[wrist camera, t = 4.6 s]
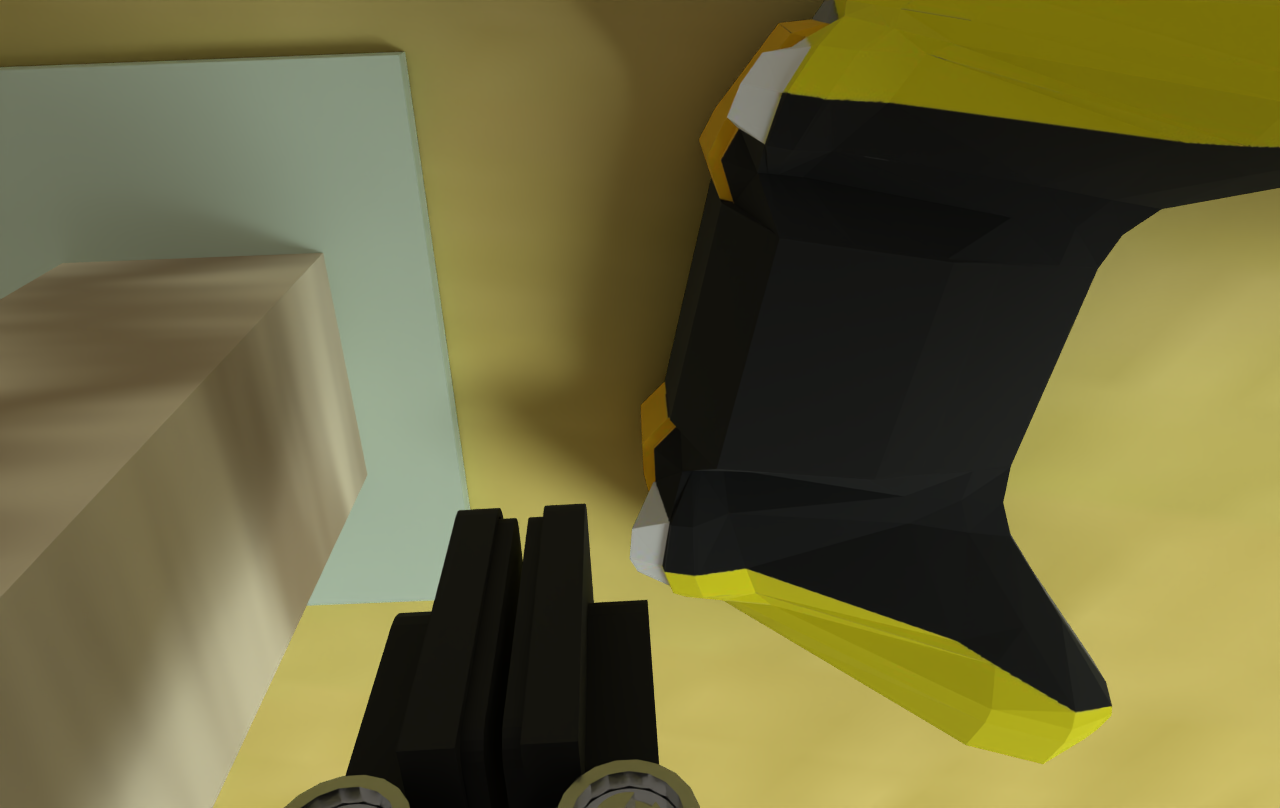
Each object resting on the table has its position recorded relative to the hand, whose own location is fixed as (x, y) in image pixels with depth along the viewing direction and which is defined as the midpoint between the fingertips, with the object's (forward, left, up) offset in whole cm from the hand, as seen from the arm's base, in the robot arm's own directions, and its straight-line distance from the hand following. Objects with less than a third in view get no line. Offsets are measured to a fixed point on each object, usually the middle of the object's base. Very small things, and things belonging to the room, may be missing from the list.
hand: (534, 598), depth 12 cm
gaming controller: (-7, -1, -8) cm, 11 cm away
